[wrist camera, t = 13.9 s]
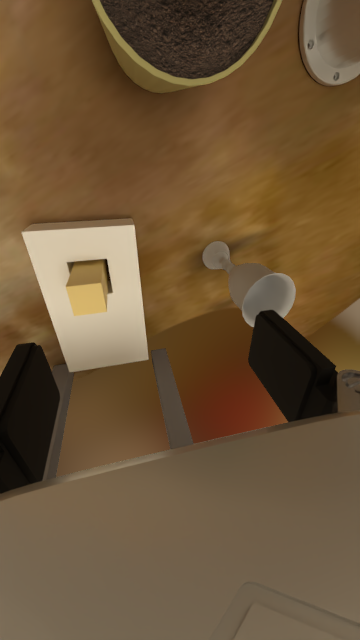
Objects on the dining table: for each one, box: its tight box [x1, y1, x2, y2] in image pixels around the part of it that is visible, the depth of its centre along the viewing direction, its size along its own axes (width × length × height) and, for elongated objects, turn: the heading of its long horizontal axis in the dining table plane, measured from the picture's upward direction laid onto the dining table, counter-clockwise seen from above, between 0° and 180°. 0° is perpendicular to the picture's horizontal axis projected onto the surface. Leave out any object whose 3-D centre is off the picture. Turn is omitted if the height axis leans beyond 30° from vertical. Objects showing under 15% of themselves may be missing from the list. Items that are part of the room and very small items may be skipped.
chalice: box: [202, 241, 296, 327], centre depth 37 cm, size 7×7×18 cm
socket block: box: [22, 218, 149, 372], centre depth 41 cm, size 24×14×5 cm, turn 1°
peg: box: [66, 259, 108, 316], centre depth 35 cm, size 4×4×12 cm
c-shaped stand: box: [42, 349, 193, 481], centre depth 35 cm, size 13×22×32 cm, turn 91°
